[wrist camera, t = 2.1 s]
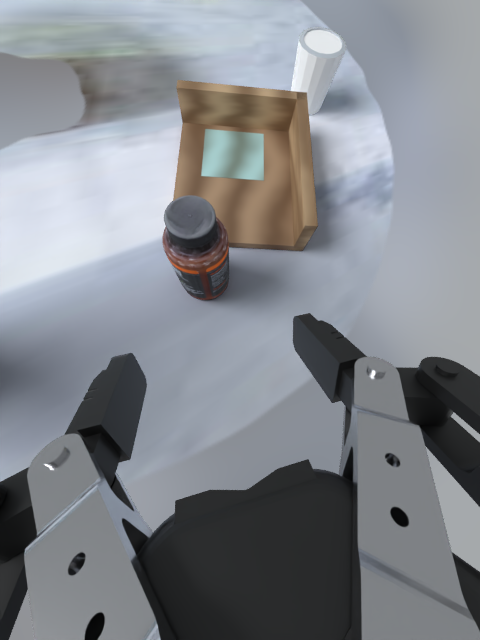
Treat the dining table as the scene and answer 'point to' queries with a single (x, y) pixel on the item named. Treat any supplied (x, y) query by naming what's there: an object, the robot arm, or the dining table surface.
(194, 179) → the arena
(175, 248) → the supplement bottle
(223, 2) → the dining table surface
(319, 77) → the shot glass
